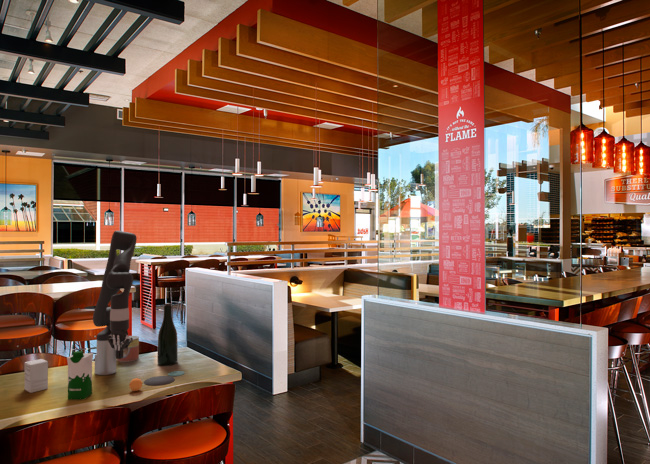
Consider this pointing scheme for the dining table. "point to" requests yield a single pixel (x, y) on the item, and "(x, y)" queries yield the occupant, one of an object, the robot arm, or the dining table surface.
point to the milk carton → (79, 375)
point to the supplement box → (36, 375)
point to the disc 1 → (159, 380)
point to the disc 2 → (176, 373)
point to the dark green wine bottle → (167, 339)
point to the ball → (135, 384)
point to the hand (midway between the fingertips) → (119, 358)
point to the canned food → (131, 351)
